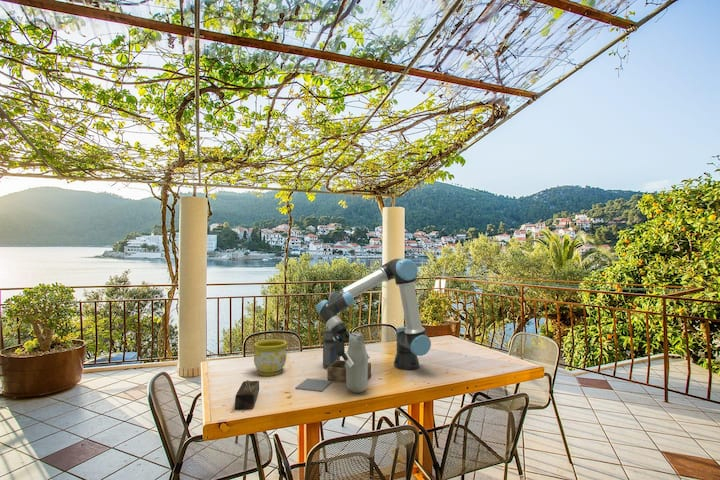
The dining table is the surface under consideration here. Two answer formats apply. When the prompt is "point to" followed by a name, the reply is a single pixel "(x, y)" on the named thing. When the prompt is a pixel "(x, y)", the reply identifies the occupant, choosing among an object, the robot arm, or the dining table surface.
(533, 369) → the dining table surface
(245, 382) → the beverage carton
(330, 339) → the beverage bottle
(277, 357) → the flowerpot
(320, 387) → the grey mat
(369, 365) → the walnut crate
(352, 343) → the grey vase
